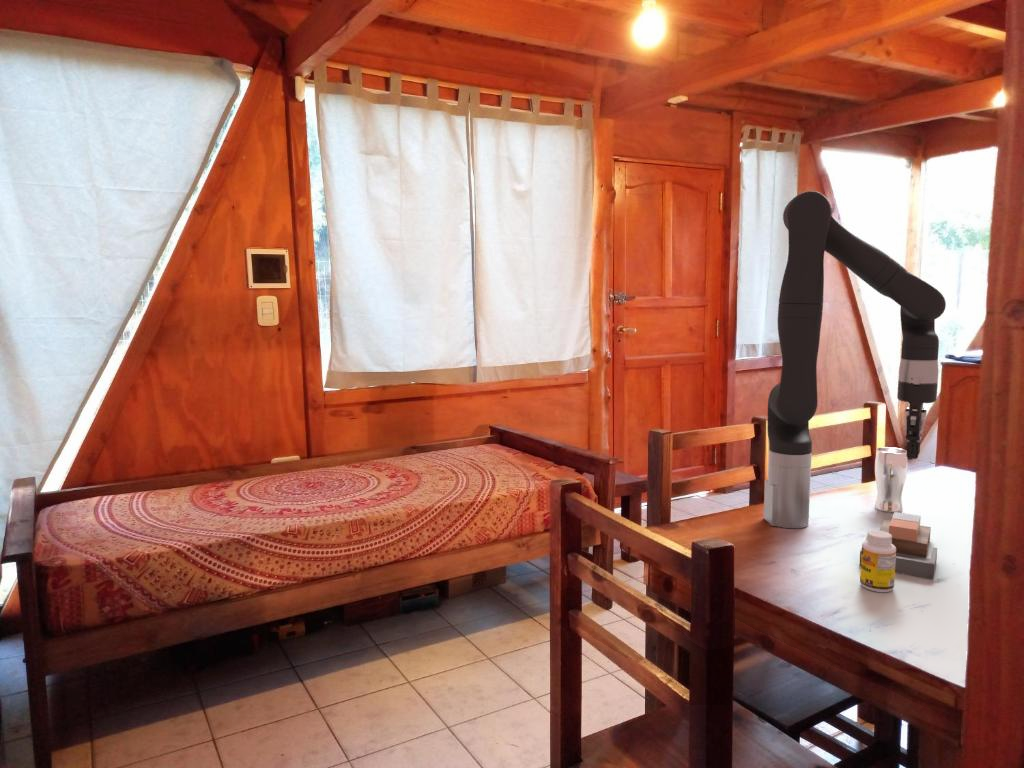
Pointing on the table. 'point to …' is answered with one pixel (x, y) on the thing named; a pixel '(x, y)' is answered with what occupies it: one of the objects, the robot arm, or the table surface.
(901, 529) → the terracotta tile
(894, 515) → the grey tile
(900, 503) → the beer glass
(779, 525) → the robot arm
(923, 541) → the walnut board
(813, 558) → the table surface
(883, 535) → the supplement bottle
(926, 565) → the charcoal tray
